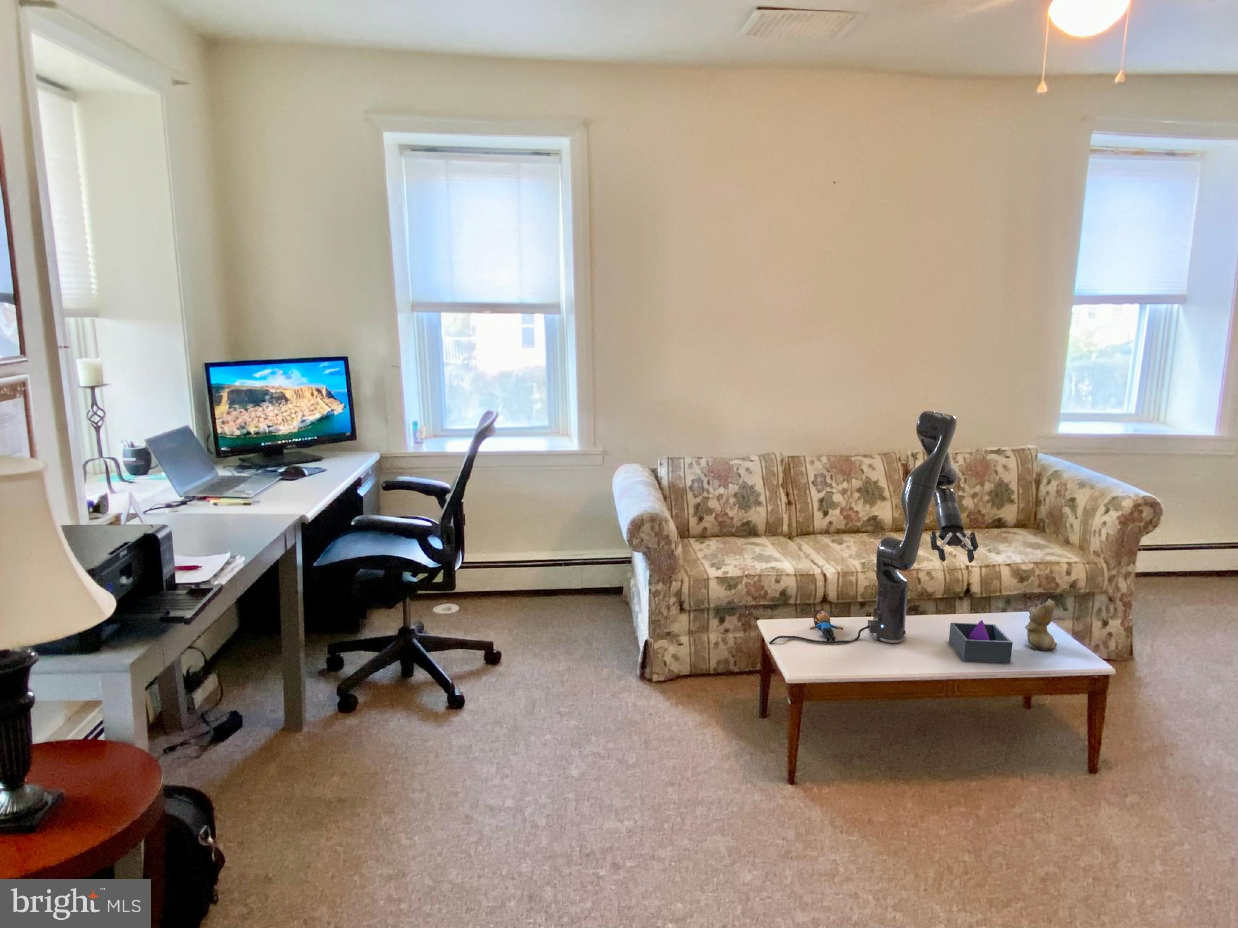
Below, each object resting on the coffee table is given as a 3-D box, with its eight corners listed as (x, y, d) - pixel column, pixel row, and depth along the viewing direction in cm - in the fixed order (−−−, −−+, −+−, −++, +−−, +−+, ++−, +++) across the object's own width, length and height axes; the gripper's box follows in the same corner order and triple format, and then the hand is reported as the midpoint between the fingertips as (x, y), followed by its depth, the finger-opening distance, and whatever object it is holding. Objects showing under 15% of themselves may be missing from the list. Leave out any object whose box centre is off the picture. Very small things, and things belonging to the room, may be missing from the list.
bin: (963, 661, 228) (965, 640, 226) (948, 642, 241) (950, 622, 240) (1010, 663, 227) (1012, 642, 225) (992, 644, 240) (994, 624, 238)
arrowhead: (975, 663, 234) (954, 635, 238) (977, 662, 235) (956, 634, 239) (1002, 649, 228) (980, 621, 231) (1004, 647, 229) (982, 619, 233)
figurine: (1018, 637, 245) (1023, 593, 242) (1047, 640, 243) (1052, 596, 240) (1028, 650, 235) (1033, 605, 232) (1058, 653, 234) (1064, 607, 231)
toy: (814, 633, 240) (804, 605, 253) (812, 648, 242) (802, 619, 256) (849, 633, 240) (836, 605, 253) (846, 648, 242) (834, 619, 256)
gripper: (930, 511, 251) (938, 555, 242) (974, 513, 250) (984, 556, 241) (924, 522, 257) (931, 565, 249) (967, 524, 256) (976, 567, 247)
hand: (957, 561), depth 245 cm, fingers open, 8 cm apart
